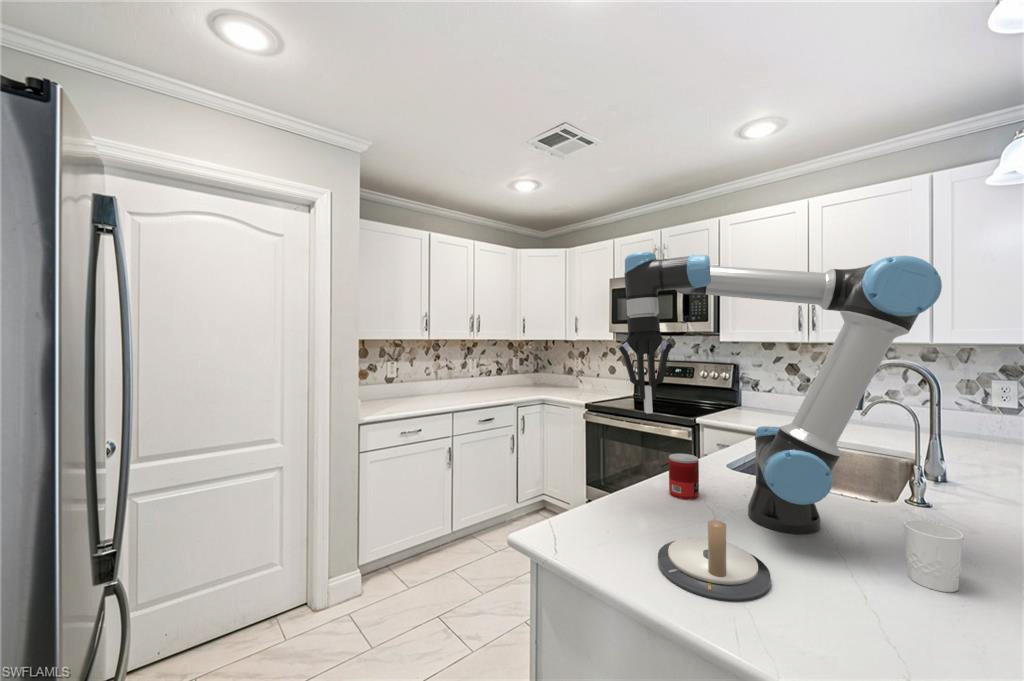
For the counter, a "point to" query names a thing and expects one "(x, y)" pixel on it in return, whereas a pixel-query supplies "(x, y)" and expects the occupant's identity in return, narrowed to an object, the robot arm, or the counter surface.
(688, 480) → the canned food
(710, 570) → the dial
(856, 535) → the counter surface
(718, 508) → the counter surface
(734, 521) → the counter surface
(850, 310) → the robot arm
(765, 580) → the dial base
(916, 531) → the white cup
